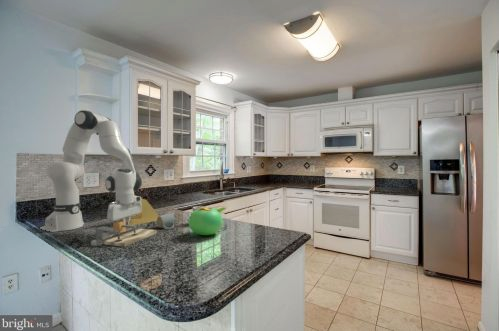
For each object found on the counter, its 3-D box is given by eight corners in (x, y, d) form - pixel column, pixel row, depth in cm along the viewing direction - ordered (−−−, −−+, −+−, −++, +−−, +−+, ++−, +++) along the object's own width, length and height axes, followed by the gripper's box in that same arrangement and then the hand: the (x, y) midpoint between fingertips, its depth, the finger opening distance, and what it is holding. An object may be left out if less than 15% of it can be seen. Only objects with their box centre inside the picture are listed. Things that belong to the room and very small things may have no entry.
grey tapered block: (90, 245, 112) (89, 230, 112) (132, 230, 137) (132, 217, 137) (110, 247, 108) (110, 232, 108) (150, 231, 133) (150, 219, 133)
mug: (196, 226, 142) (196, 209, 142) (186, 225, 147) (186, 208, 146) (209, 222, 152) (209, 206, 152) (199, 221, 156) (199, 205, 156)
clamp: (126, 226, 145) (125, 199, 145) (120, 223, 152) (120, 198, 151) (158, 220, 160) (158, 196, 159) (152, 218, 166) (151, 194, 166)
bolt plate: (104, 244, 113) (104, 240, 113) (138, 231, 134) (138, 228, 134) (124, 246, 110) (124, 243, 110) (157, 232, 131) (156, 229, 131)
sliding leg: (113, 232, 124) (113, 222, 124) (119, 230, 128) (119, 221, 128) (132, 234, 121) (132, 224, 121) (138, 232, 125) (138, 222, 125)
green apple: (182, 235, 125) (181, 207, 125) (204, 228, 140) (204, 202, 139) (209, 241, 116) (208, 210, 116) (230, 232, 130) (229, 205, 130)
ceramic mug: (156, 227, 143) (156, 214, 142) (169, 224, 148) (169, 212, 148) (163, 231, 135) (163, 217, 134) (177, 228, 140) (177, 215, 140)
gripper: (113, 202, 118) (114, 231, 119) (143, 196, 138) (143, 221, 138) (103, 202, 120) (104, 230, 121) (134, 196, 140) (134, 220, 140)
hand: (125, 225), depth 130 cm, fingers closed
